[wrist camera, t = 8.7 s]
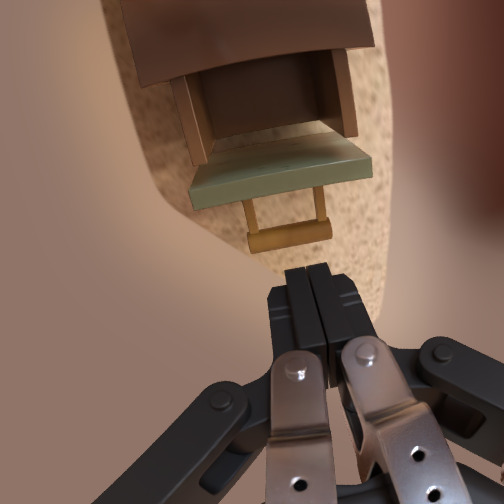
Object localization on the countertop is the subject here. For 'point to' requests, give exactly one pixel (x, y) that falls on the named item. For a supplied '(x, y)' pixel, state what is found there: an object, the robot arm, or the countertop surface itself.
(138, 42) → the cabinet
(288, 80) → the drawer
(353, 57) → the countertop surface
